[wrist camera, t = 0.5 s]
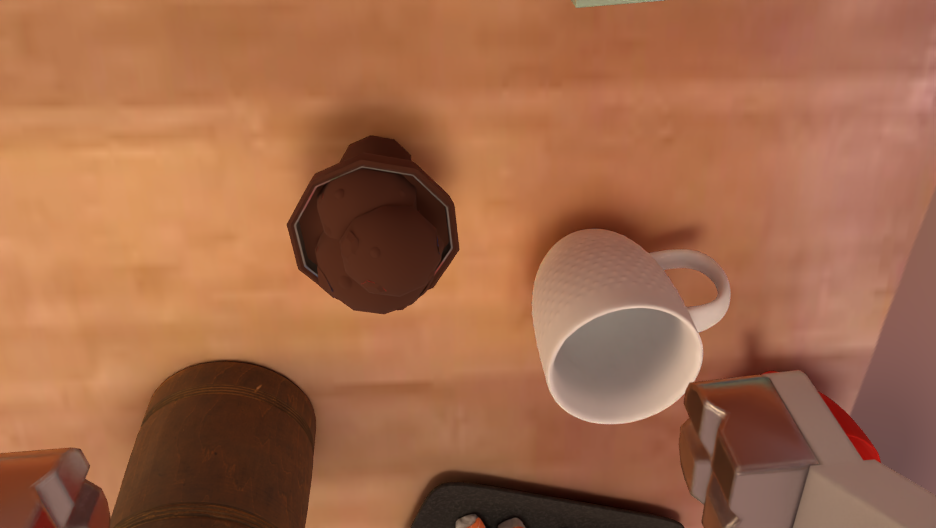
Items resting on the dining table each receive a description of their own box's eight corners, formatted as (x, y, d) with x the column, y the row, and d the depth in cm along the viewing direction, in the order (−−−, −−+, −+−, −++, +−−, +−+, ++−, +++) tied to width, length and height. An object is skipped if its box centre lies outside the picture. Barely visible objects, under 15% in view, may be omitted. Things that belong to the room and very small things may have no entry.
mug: (689, 174, 60) (755, 269, 49) (704, 283, 66) (765, 389, 56) (504, 227, 62) (529, 331, 51) (535, 329, 68) (563, 441, 57)
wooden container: (192, 490, 75) (130, 729, 57) (117, 382, 67) (17, 621, 49) (338, 456, 74) (322, 688, 56) (281, 342, 66) (241, 571, 48)
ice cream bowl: (309, 89, 54) (285, 194, 42) (465, 117, 56) (487, 225, 44) (293, 218, 60) (268, 345, 47) (435, 240, 62) (447, 366, 49)
